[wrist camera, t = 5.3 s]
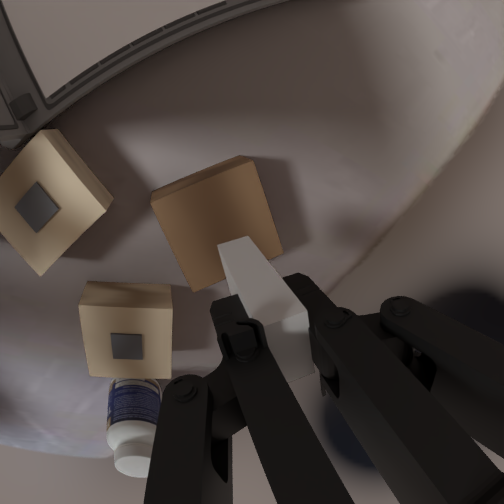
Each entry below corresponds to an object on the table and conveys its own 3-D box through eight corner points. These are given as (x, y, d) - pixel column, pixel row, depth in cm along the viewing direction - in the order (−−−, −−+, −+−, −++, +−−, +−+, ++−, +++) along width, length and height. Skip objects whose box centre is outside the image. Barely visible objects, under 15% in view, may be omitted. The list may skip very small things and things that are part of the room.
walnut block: (187, 268, 26) (193, 292, 22) (152, 190, 23) (150, 203, 19) (266, 234, 26) (283, 253, 23) (238, 154, 23) (253, 160, 20)
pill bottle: (101, 373, 27) (94, 454, 18) (152, 364, 28) (159, 447, 19) (120, 407, 29) (121, 483, 20) (167, 400, 30) (178, 477, 22)
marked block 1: (55, 255, 22) (39, 278, 18) (2, 192, 19) (-23, 205, 15) (114, 197, 22) (105, 211, 18) (58, 129, 19) (39, 130, 15)
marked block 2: (95, 346, 26) (89, 377, 22) (87, 279, 24) (77, 306, 20) (168, 349, 28) (171, 380, 24) (170, 283, 26) (172, 310, 22)
